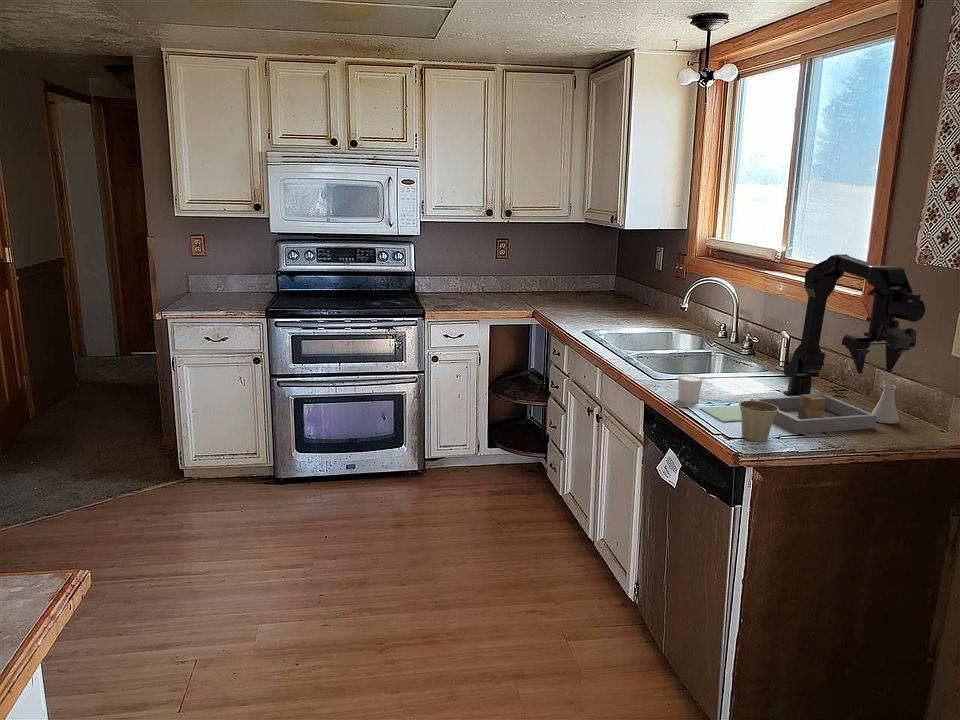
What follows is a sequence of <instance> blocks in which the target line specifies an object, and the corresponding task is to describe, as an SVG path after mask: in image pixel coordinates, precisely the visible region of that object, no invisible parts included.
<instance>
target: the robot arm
mask: <svg viewBox="0 0 960 720" xmlns="http://www.w3.org/2000/svg"><path fill="white" fill-rule="evenodd" d="M905 271H906V269H905V268H903V267H902V266H895V265H893V266H892V265H878V264H875V263H872V262H868V261H864V260H862V259H858V258H856V257H853V256H850V255H849V254H840V253H839V254H835V253H834V254H832V255H830V256H829V257H827V258H826V259H825V260H823V261H821V262H819V263H816V264H815V265H813V266H812V267H810V268H808V270H806V272H805V275H804V289H805V291H806V294H807V296H808V299H807V305H806V311H805V316H804V323H803V329H802V335H801V342H800V344H799V345H798V346H797V347H796V349H795V350H794V351H793V354H792V358H791V361H789V362H788V363H787V364H786V365H785V366H784V367H783V375H784V376H787V377H789V378H788V383H787V385H788V386H787V390H783V392H782V393H783V394H785V395H787V396H801V395H806V394H811V391H812V380H813V379H812V378H818V377H819V374H820V372H821V370H822V368H823V367H824V366H825V364H824V363H825V359H826V358H825V357H826V353H825V352H824V351H823V352H822V349H821V347H820V342H821V336H822V331H823V323H824V318H825V312H826V308H827V307H826V305H827V302H828V301H827V300H828V298H829V297H830V295H831V294H832V293H833V292H834V290H835V288H836V285H837V281H839V280H840V279H841V278H843V277H844V275H845V273H847V274H850V275H854V276H856V277H858V278H860V279H861V278H862V279H864V280H866V282H867V284H868V285H870V286H871V287H873V288H872V289H871V290H868V292H867V293H866V294H867V296H872V303H871V304H872V305H871V311H870V316H867V317H866V321H867V322H869V323H868V324H869V325H868V329H867V331H864V334H863V335H860V334H857V333H855V334H845V335H844V336H842V340H841V345H842V346H845V349H848V351H849V354H850V355H851V357H852V360H853V364H854V366H855V368H856V371H857V373H858V374H862V373H863V370H864V367H865V361H866V356H867V355H868V353H869V352H870V351H871V350H869V347H871V345H872V346H873V345H885V367H886V372H888V373H891V372H892V370H893V369H894V367H895V366H896V364H897V362H898V361H899V359H900V358H901V355H902V354H904V353H905V352H907V351H910V350H912V348H916V344H917V333H918V331H917V330H916V329H915V328H913V327H909V328H908V327H907V328H906V329H905V328H900V325H899V324H900V322H899V320H898V319H900V320H902V321H904V320H905V321H909V322H913V323H916V322H918V321H920V320H922V318H923V317H924V315H925V313H926V306H925V303H924V301H923V300H922V299H921V294H919V293H914V292H913V290H912V287H911V284H910V282H909V280H908V277H907V274H906V272H905Z"/></svg>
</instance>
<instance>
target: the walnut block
mask: <svg viewBox="0 0 960 720" xmlns="http://www.w3.org/2000/svg"><path fill="white" fill-rule="evenodd" d="M818 395H819V394H815V393H812V394H811V393H810V394H806V395H801V398H800V405H799V409H798V413H797V414H798V415H797V417H798V419H812V418H824V416H825V415H824V414H825V410H826V409H825V402H826V398H823V397H821V396H818Z"/></svg>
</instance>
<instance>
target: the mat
mask: <svg viewBox="0 0 960 720" xmlns="http://www.w3.org/2000/svg"><path fill="white" fill-rule="evenodd" d="M699 410H700V411H702V412H704V413H706V414H708V415H709V416H711V417H713V418H715V419H717V420H718V421H720V422H722V423H730V422H729V421H735V422H742V415H741V410H740V406H739V405H725V406H723V405H722V406H708V407H699Z"/></svg>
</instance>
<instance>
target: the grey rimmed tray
mask: <svg viewBox="0 0 960 720" xmlns="http://www.w3.org/2000/svg"><path fill="white" fill-rule="evenodd" d="M817 395H818V396H821V397H823V398H826V402H825V409H824V410H828V411H829V412H832V413H835V414H837V415H839V416H830V417H827V416H825V417H823V418H812V419H801V418H797V417H796V416H793V415H790V414H789V413H786V412H784V411H783V410H799V405H800V398H801V396H789V395H787V396H773V397H756V398H755V397H754V398H750V401H761V402H766V403H770V404H773V405H775V406H777V407H778V408H779V410H778V411H777V412H776V415H775V416H774V419H773V422H772V423H774V424H776V425H778V426H780V427H782V428H784V429H786V430H788V431H790V432H792V433H794V434H796V435H798V434H800V435H801V434H813V433H814V434H815V433H826V432H841V431H852V430H866V429H867V430H868V429H875V428H876V423H877V421H876V418H877V416H876V415H874V414H872V412H868V411H866V410H864V409H861V408H858V407H856V406H855V405H852V404H849V403H847V402H844V401H842V400H839V399H836V398H835V397H832V396H829V395H827V394H825V393H824V394H822V393H821V394H817Z"/></svg>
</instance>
